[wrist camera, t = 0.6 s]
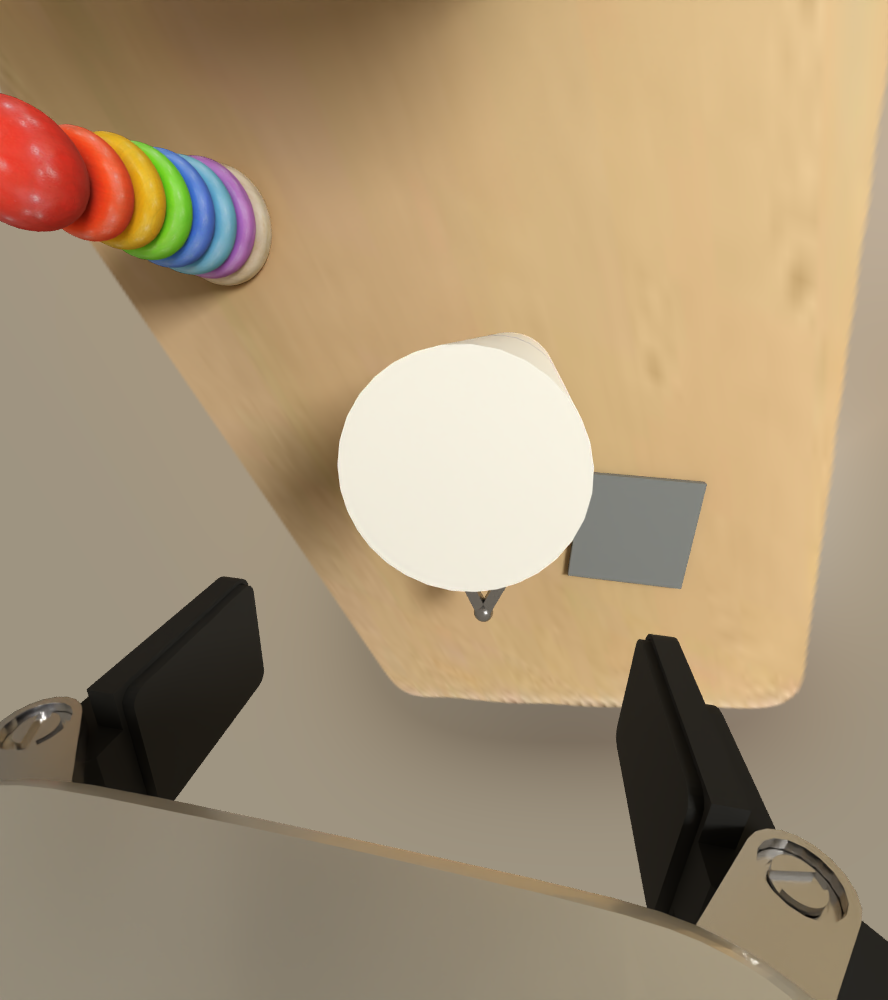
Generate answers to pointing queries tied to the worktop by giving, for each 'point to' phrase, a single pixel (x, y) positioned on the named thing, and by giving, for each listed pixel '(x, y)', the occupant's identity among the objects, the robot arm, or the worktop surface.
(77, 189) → the stacking toy
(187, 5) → the worktop surface
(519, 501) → the cylindrical container
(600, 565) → the mat
